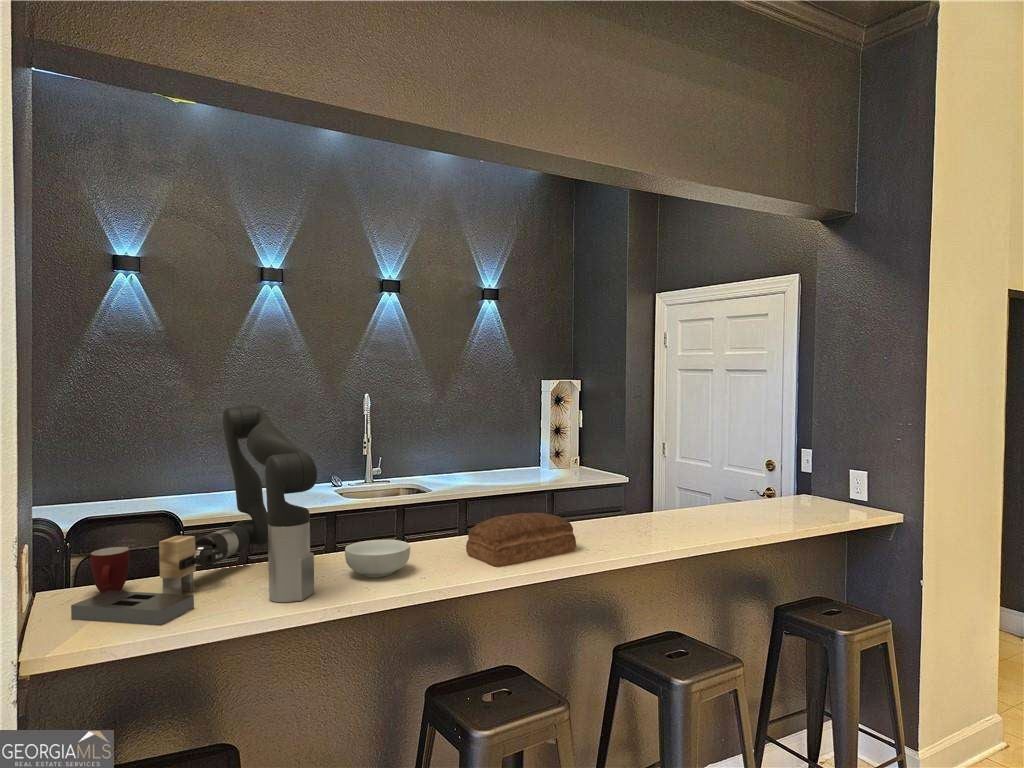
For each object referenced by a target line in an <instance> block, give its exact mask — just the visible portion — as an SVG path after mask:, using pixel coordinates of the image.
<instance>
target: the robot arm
mask: <svg viewBox="0 0 1024 768" xmlns="http://www.w3.org/2000/svg"><path fill="white" fill-rule="evenodd" d="M222 428H223V429H222V430H223V434H224V440H225V445H226V449H227V453H228V459H229V461H230V466H231V469H232V474H233V480H234V487H235V498H236V507H237V510H238V512H239V513H243V514H246V515H249V516H250V517H251V519H243V520H239V521H237V522H235V523H234V524H232V525H231V526H230V527H228V528H225V529H220V530H217V531H213V532H211V533H209V534H206V535H202V536H200V537H198V538H197V539H195V554H194V555H192V557H188V558H185V559H182V560H180V562H179V569H180V570H184V569H186V568H188V567H191V566H196V567H198V566H202V567H203V566H204V567H205V566H207V567H208V566H211V565H214V564H216V563H219V562H221V561H223V560H226V559H227V558H230V557H231V556H233V555H234V554H237V553H240V552H241V551H242V550H244V549H245V548H246V547H247V546H261V545H262V546H263V545H266V544H267V548H268V549H267V554H268V555H267V556H268V558H267V559H268V560H267V561H268V599H269V600H270V601H271V602H274V603H291V602H302V601H304V600H305V599H307V598H309V597H310V596H311V595H313V594H315V555H314V552H311V533H310V532H311V529H310V527H311V525H310V520H311V519H310V517H311V516H310V515H311V514H310V510H309V509H308V508H307V507H304V506H299V505H296V504H291V503H289V502H288V501H286V497H285V495H290V494H296V493H303V492H307V491H309V490H311V489H313V487H314V486H315V485H316V483H317V480H318V470H317V465H316V463H315V461H314V459H313V458H312V456H311V455H310V454H309V453H307V452H306V451H305V450H303V449H301V448H299V447H298V446H296V445H295V444H294V443H293V442H292V441H291V440H289V439H288V438H287V436H286V435H285V434H284V433H283V431H281V430H279V428H277V427H276V426H275V425H274V424H273V423H272V421H271V420H270V418H269V417H268V415H267V414H266V411H265V410H264V409H263V408H262V407H261V406H260V405H255V404H253V405H252V404H251V405H250V404H249V405H241V406H231V407H226V408H225V409H224V410H223V414H222ZM245 439H246V448H247V450H248V452H249V453H250V455H251V456H252V458H253V459H255V461H256V462H257V463H259V464H261V465H263V466H264V481H265V491H266V492H265V493H266V506H265V503H264V496H263V495H264V494H263V485H262V480H261V477H260V474H258V472H257V470H256V469H255V468H254V467H253V466H252V465H251V464H250V462H249V461H248V459H247V458H246V457H245V455H244V454H243V451H242V449H241V446H240V442H239V440H245ZM158 569H159V570H160V558H159V559H158Z"/></svg>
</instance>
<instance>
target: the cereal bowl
mask: <svg viewBox="0 0 1024 768" xmlns="http://www.w3.org/2000/svg"><path fill="white" fill-rule="evenodd" d="M410 554H411V545H410V543H409V542H406V541H403V540H397V539H371V540H364V541H358V542H354V543H350V544H349V545H348V544H347V546H345V549H344V559H345V562H346V564H347V566H348V567H349V568H350V569H351V570H353V571H355V572H356V573H359V574H361V575H362V576H364V577H366V578H382V577H383V578H384V577H388V576H390V575H392V574H393V573H394V572H395V571H398V570H400V569H402V568H403V567H405V565H406V564H407V563H408V561H409V559H410V556H411V555H410Z"/></svg>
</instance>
